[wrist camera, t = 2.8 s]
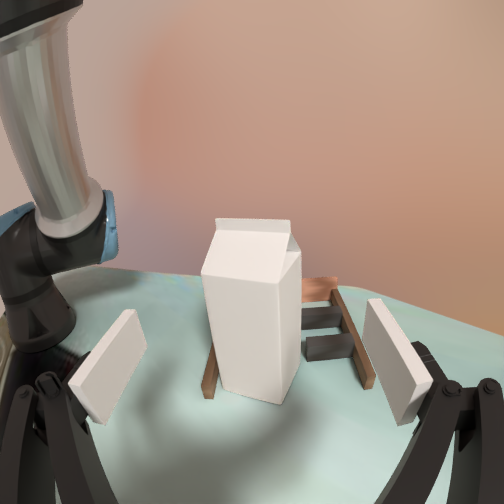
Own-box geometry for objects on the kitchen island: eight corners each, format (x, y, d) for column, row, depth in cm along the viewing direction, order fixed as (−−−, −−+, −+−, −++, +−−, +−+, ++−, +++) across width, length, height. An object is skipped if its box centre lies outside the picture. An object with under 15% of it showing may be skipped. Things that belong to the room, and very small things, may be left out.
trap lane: (204, 398, 28) (197, 375, 26) (227, 302, 48) (225, 282, 47) (372, 388, 26) (379, 363, 25) (335, 296, 47) (336, 276, 46)
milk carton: (281, 406, 26) (275, 232, 20) (222, 390, 29) (193, 228, 22) (300, 364, 32) (300, 211, 26) (248, 354, 35) (233, 210, 28)
